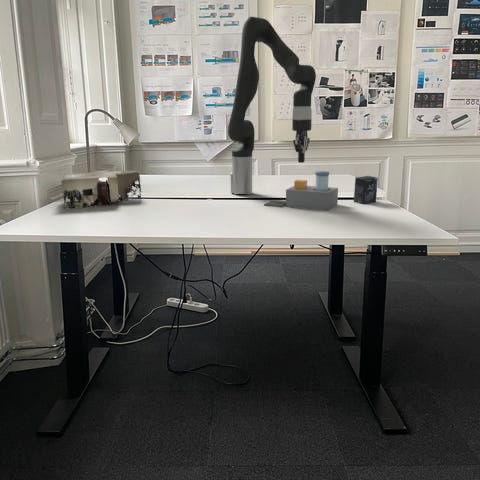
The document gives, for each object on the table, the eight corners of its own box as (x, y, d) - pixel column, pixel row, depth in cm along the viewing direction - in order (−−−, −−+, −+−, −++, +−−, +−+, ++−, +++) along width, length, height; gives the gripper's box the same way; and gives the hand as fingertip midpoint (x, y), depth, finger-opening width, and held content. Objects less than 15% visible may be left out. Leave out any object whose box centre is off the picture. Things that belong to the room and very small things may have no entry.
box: (363, 204, 201) (365, 178, 198) (353, 202, 206) (354, 177, 203) (376, 202, 206) (378, 177, 203) (366, 199, 210) (367, 175, 207)
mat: (263, 205, 201) (263, 204, 201) (271, 202, 208) (271, 200, 208) (281, 207, 198) (281, 205, 197) (289, 203, 204) (289, 202, 204)
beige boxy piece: (143, 205, 205) (141, 174, 202) (64, 210, 197) (60, 178, 194) (140, 197, 222) (138, 169, 218) (67, 202, 214) (64, 172, 210)
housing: (285, 206, 199) (286, 189, 197) (296, 201, 209) (296, 185, 207) (328, 210, 191) (329, 192, 189) (337, 204, 201) (338, 187, 199)
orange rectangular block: (294, 193, 200) (294, 181, 199) (297, 191, 203) (297, 179, 202) (303, 193, 198) (303, 181, 197) (306, 192, 202) (307, 180, 200)
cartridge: (312, 202, 197) (313, 172, 193) (317, 199, 201) (317, 170, 198) (325, 203, 194) (326, 173, 191) (329, 200, 199) (330, 171, 196)
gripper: (298, 117, 200) (298, 160, 205) (286, 119, 189) (286, 163, 193) (316, 117, 197) (315, 160, 201) (305, 119, 185) (304, 164, 190)
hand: (301, 162), depth 197 cm, fingers closed
